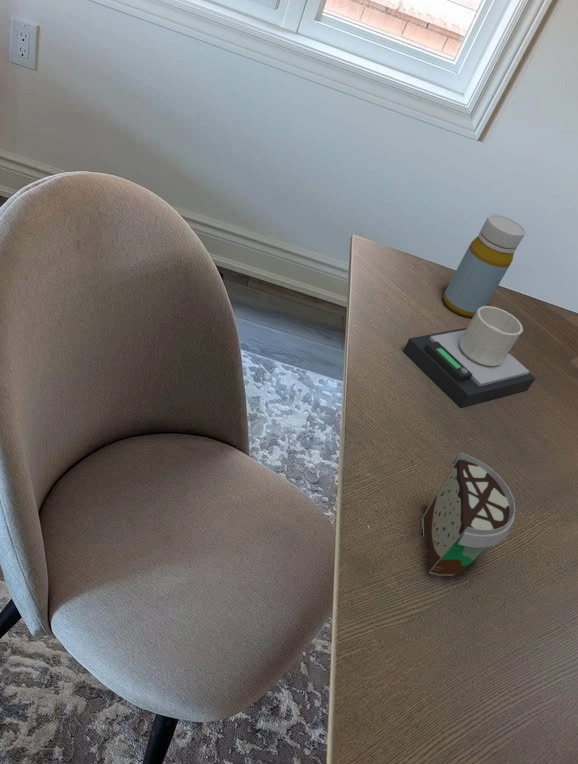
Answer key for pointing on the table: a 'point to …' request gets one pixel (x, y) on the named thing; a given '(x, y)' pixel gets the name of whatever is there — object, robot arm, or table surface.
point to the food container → (466, 515)
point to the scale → (465, 369)
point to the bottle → (483, 265)
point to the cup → (490, 336)
